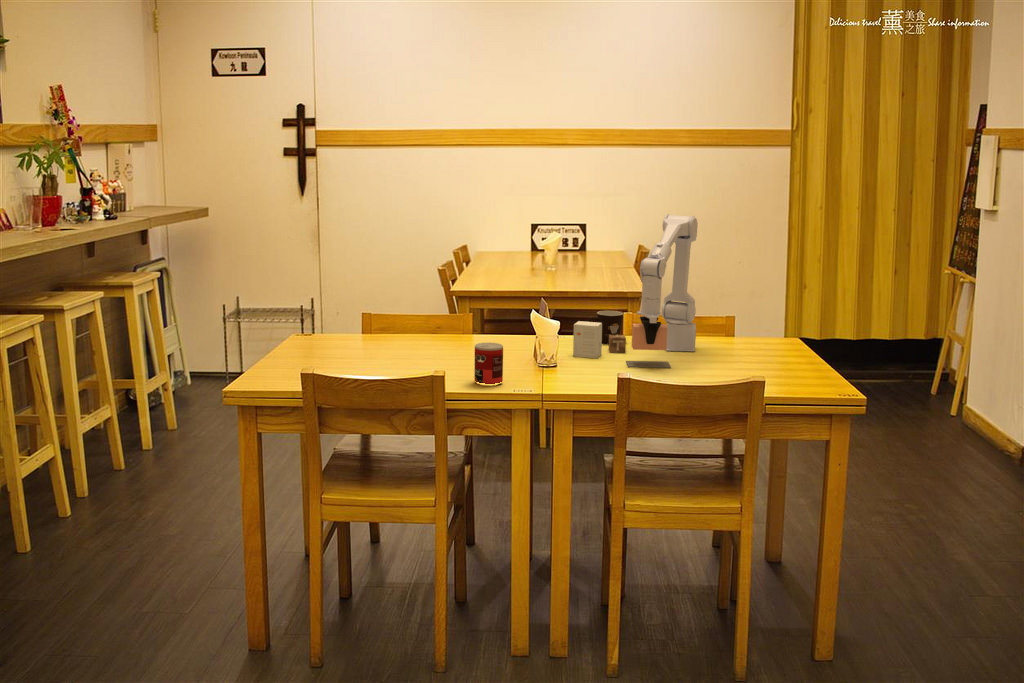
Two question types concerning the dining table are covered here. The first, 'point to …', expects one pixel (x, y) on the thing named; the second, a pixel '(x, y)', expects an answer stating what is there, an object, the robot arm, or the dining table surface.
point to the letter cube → (617, 343)
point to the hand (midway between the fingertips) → (649, 341)
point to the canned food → (488, 363)
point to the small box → (587, 339)
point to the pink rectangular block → (640, 338)
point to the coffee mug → (609, 323)
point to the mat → (649, 364)
